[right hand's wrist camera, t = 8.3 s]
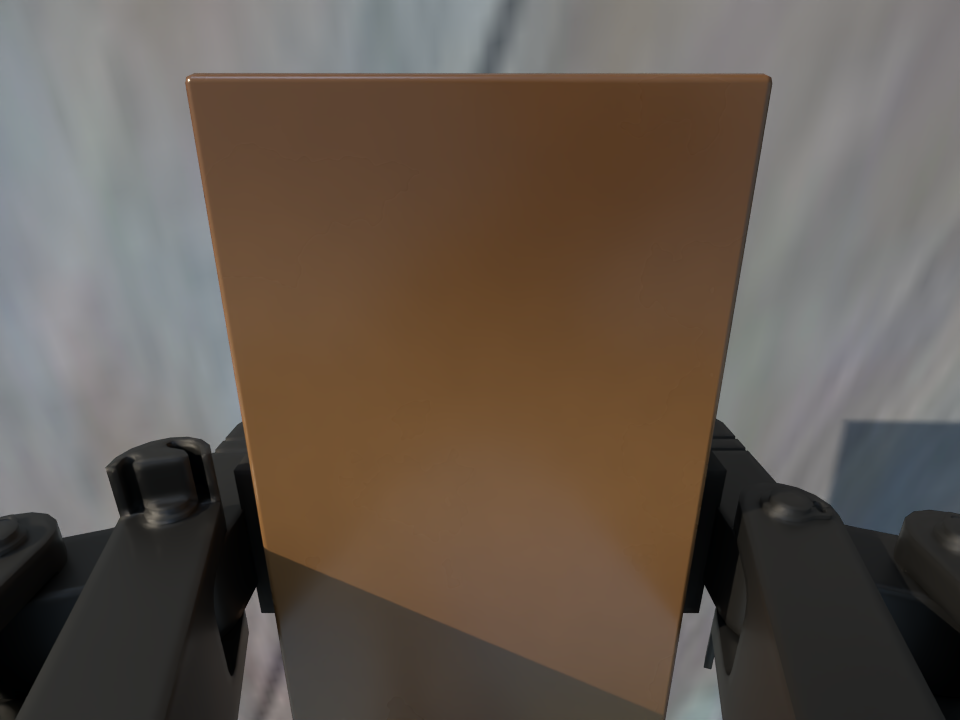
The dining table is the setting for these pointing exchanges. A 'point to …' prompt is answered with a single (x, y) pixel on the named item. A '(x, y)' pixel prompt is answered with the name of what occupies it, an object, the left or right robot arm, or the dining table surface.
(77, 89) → the dining table surface
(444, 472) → the beam
